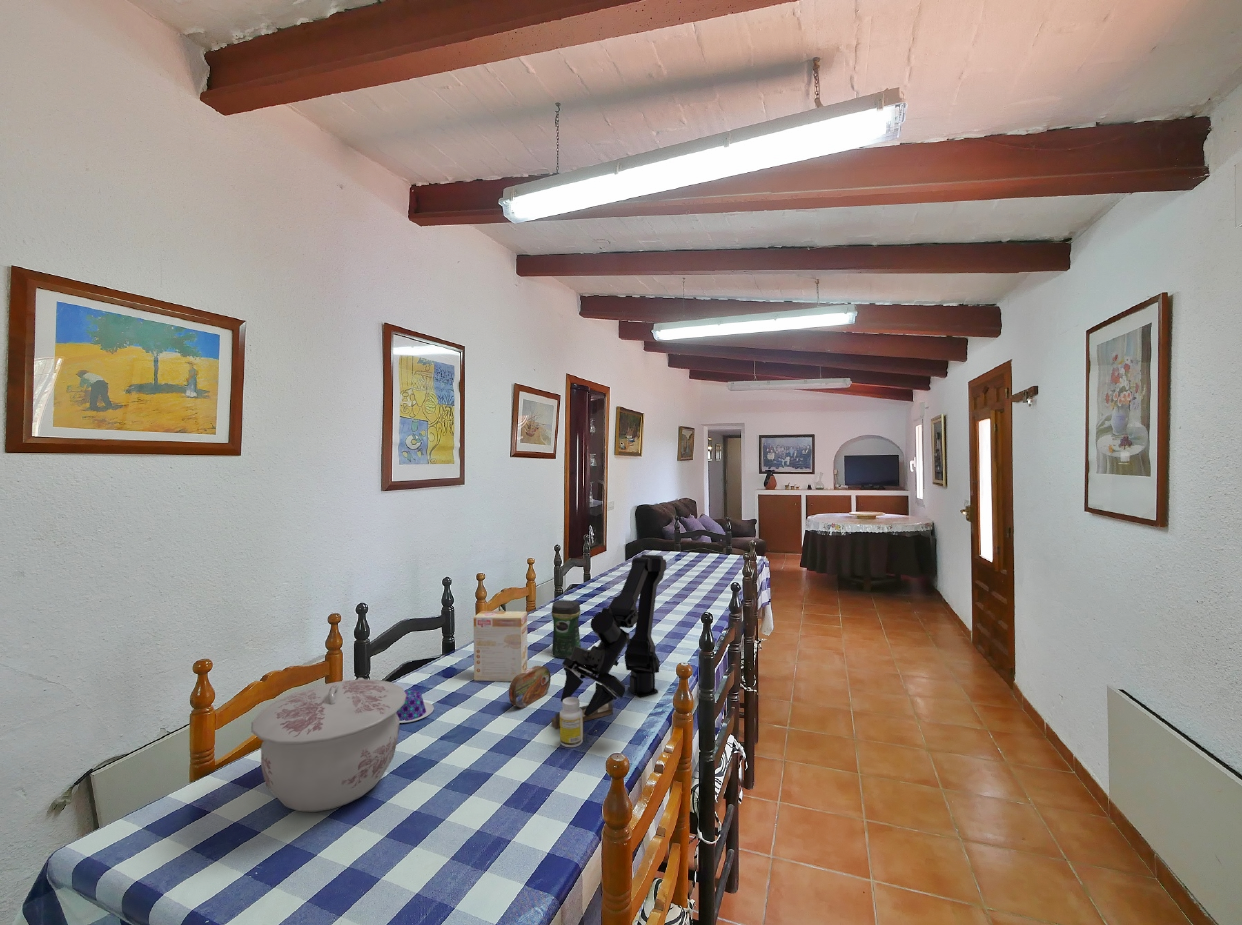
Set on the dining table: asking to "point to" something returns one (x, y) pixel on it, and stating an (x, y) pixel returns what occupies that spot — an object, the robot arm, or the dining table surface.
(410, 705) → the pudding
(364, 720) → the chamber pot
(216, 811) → the dining table surface
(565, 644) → the coffee jar
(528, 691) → the tin
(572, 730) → the supplement bottle
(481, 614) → the coffeecake box
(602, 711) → the rail
